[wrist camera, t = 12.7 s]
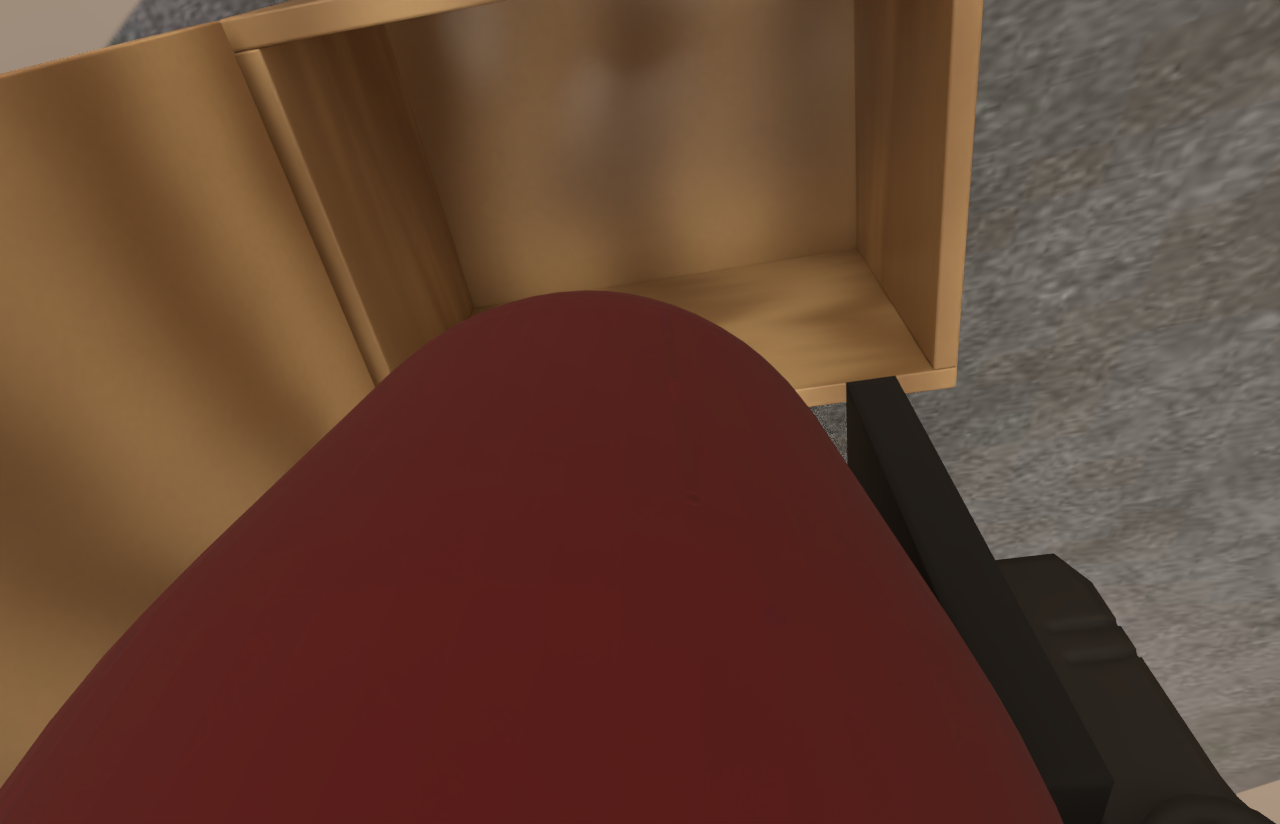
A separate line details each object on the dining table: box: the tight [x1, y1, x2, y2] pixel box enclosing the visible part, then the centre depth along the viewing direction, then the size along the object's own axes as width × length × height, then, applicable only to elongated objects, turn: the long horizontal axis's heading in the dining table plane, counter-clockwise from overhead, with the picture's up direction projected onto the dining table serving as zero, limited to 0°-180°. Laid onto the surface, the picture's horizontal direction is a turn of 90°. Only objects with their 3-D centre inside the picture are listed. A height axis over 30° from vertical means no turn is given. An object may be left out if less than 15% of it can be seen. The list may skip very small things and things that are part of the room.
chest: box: [219, 0, 984, 407], centre depth 28 cm, size 20×15×12 cm
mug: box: [0, 290, 1064, 824], centre depth 9 cm, size 11×8×10 cm
